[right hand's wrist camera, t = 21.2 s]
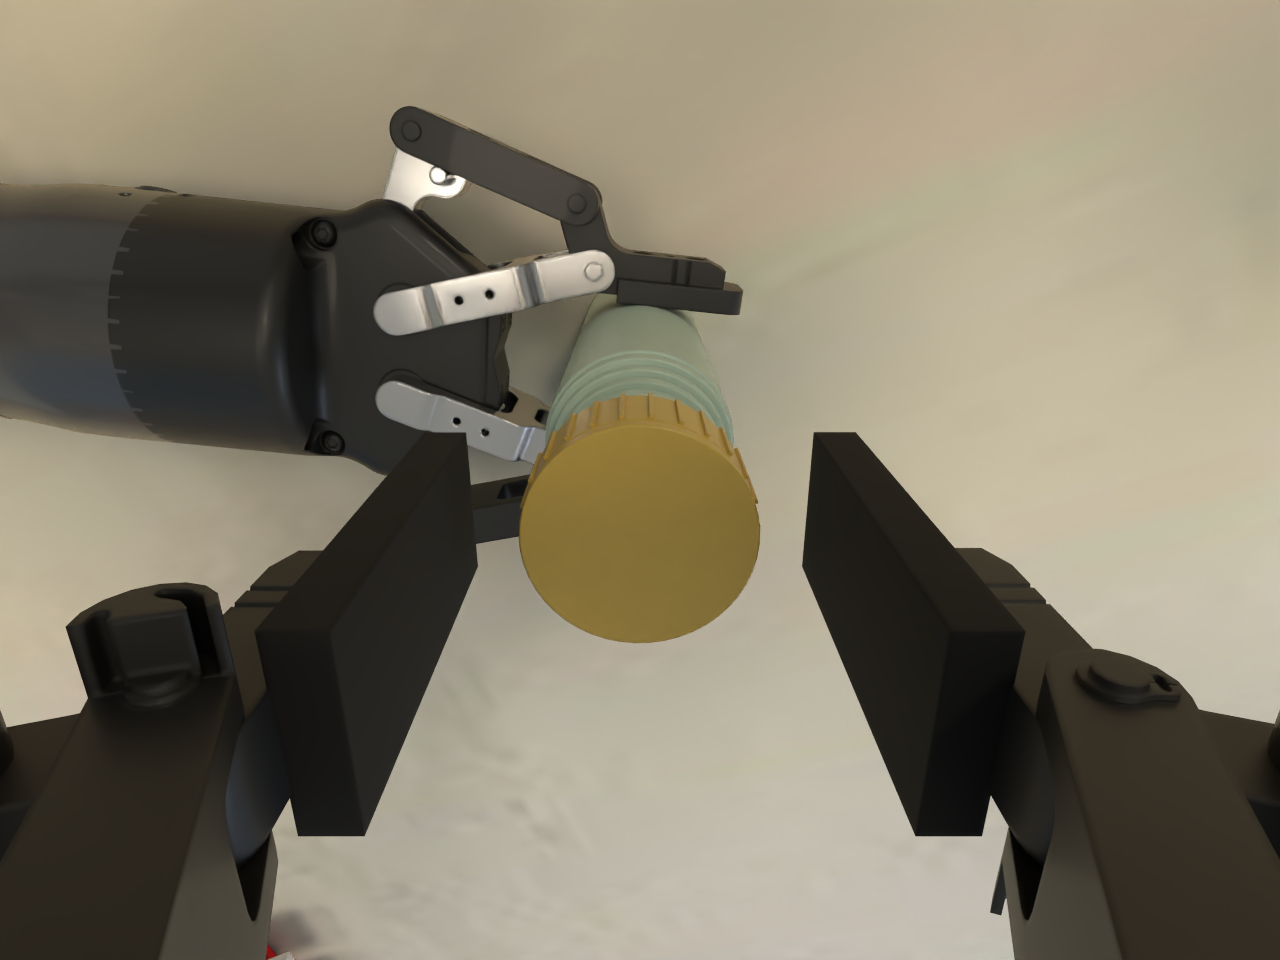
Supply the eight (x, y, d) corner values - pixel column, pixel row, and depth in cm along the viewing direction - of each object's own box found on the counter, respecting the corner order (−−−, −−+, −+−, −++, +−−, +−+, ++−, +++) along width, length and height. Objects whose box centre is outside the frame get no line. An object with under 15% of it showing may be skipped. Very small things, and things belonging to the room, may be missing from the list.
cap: (793, 502, 14) (814, 546, 13) (633, 630, 15) (632, 687, 14) (646, 344, 13) (647, 368, 12) (484, 492, 14) (463, 535, 13)
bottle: (699, 280, 30) (782, 417, 13) (685, 387, 31) (742, 639, 14) (589, 268, 30) (521, 391, 12) (581, 376, 31) (510, 619, 14)
